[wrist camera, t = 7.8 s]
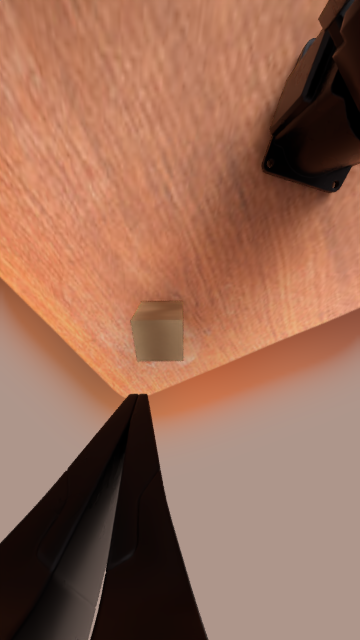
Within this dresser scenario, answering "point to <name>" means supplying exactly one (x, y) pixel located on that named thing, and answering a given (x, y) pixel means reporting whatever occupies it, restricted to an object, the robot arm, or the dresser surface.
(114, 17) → the dresser surface
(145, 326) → the block
